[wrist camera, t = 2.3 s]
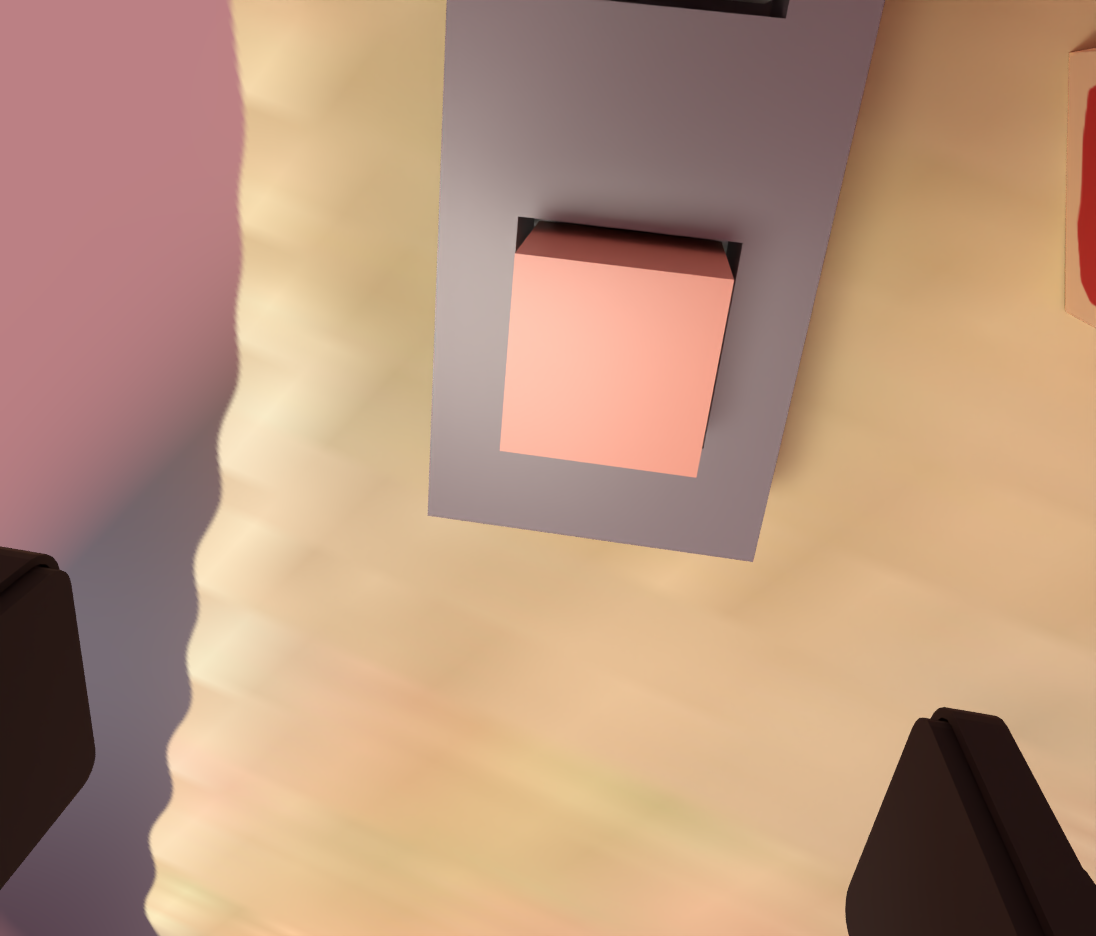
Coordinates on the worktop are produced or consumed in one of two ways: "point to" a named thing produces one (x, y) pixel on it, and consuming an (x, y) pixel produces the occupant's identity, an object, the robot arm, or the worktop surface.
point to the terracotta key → (614, 346)
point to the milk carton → (1081, 188)
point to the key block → (638, 229)
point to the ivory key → (754, 1)
